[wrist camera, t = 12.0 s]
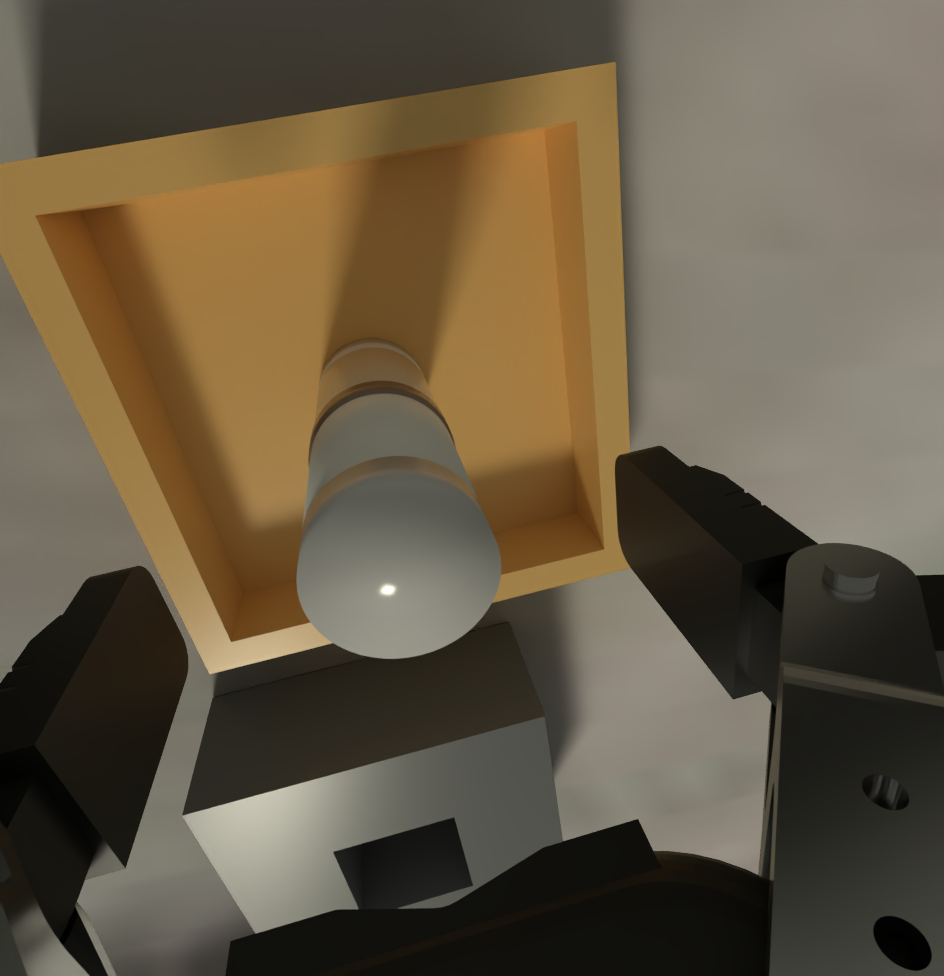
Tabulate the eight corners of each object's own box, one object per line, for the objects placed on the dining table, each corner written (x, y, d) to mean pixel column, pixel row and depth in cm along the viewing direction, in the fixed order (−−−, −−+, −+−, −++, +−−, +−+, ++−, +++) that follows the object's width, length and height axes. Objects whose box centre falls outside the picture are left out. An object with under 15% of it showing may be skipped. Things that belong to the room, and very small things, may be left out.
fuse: (333, 451, 19) (325, 681, 10) (303, 348, 17) (264, 514, 8) (436, 429, 19) (515, 633, 10) (415, 326, 18) (489, 463, 9)
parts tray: (228, 605, 22) (209, 674, 19) (37, 175, 15) (-42, 170, 12) (595, 516, 23) (634, 566, 20) (564, 85, 16) (616, 61, 13)
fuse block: (301, 873, 29) (294, 995, 24) (212, 697, 23) (182, 815, 19) (539, 804, 30) (572, 909, 26) (508, 621, 24) (544, 716, 20)
